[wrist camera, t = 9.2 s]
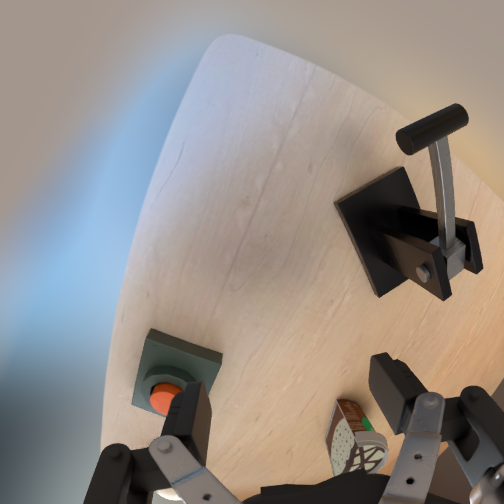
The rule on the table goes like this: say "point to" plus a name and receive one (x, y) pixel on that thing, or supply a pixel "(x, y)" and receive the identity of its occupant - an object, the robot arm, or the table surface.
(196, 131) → the table surface
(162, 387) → the button
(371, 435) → the food container
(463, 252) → the lever
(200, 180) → the table surface
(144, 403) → the button box
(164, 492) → the cream ball
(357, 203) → the bracket
